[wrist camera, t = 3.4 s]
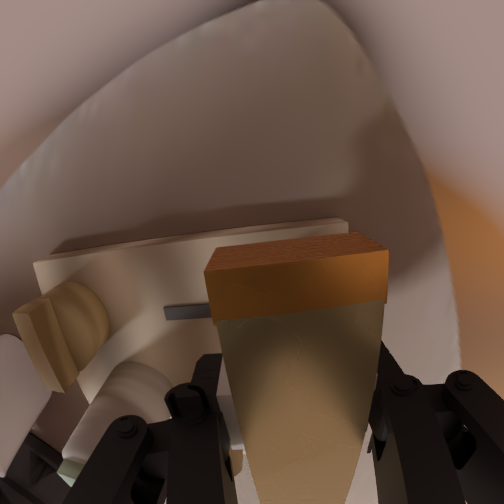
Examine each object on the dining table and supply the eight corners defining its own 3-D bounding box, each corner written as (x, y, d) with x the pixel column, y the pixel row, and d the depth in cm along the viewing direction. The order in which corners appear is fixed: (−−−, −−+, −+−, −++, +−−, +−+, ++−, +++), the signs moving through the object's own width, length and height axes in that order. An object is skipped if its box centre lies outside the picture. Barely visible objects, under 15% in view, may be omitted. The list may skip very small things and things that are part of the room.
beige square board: (121, 431, 22) (84, 518, 11) (48, 254, 17) (-65, 317, 6) (334, 426, 21) (361, 533, 10) (337, 216, 16) (458, 286, 5)
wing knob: (260, 372, 16) (263, 516, 7) (237, 207, 14) (203, 271, 5) (310, 366, 16) (345, 505, 7) (300, 200, 14) (388, 250, 4)
